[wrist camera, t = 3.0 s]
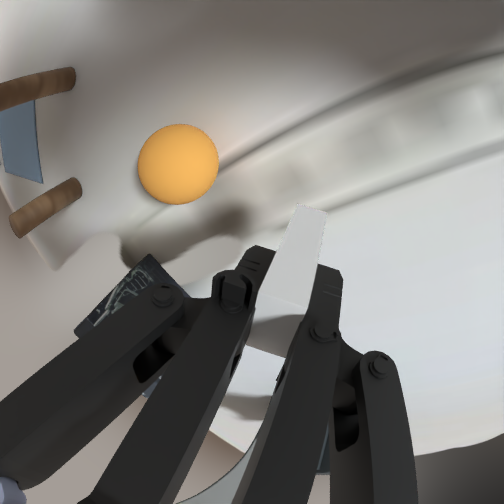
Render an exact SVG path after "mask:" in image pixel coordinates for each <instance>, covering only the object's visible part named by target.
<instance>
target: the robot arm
mask: <svg viewBox="0 0 504 504" xmlns="http://www.w3.org/2000/svg"><path fill="white" fill-rule="evenodd" d="M326 218H327V212H324V211H321V210H317V209H314V208H311V207H308V206H304V205H301V204H297V206H296V209H295V211H294V213H293V216H292V218H291V220H290V222H289V225H288V227H287V229H286V231H285V234H284V236H283V238H282V240H281V243H280V245H279V247H278V249H277V252H276V251H273V250H270V249H267V248H264V247H260V246H257V245H255V246H253V247H251V248H249V249H248V250H246V252H245V254H244V255H243V257H242V259H241V260H240V262H239V263H238V266H237V267H236V268H235V270H224V271H222V272H219V273H217V274H216V275H215V276H214V277H213V280H212V293H211V297H209V298H190V297H184V295H183V292H182V291H181V290H180V289H179V288H178V287H177V286H175V285H172V284H168V283H159V284H154V285H152V286H150V287H148V288H147V289H146V290H144V291H143V292H141V293H140V294H139V295H137V296H136V297H135V298H133V299H132V300H130V301H129V302H128V303H126V304H125V305H124V306H122V307H121V308H120V309H118V310H117V311H115V312H114V313H113V314H111V315H110V316H109V317H107V318H106V319H105V320H103V321H102V322H101V323H99V324H98V325H97V326H95V327H94V328H93V329H91V330H90V331H89V332H87V333H86V334H85V335H83V336H82V337H81V338H79V339H78V340H77V341H76V342H74V343H73V344H72V345H70V346H69V347H68V348H66V349H65V350H64V351H63V352H62V353H60V354H59V355H57V356H56V357H55V358H54V359H52V360H51V361H50V362H49V363H47V364H46V365H45V366H43V367H42V368H41V369H40V370H38V371H37V372H36V373H35V374H33V375H32V376H31V377H30V378H28V379H27V380H26V381H25V382H24V383H22V384H21V385H20V386H19V387H17V388H16V389H15V390H14V391H13V392H11V393H10V394H9V395H8V396H7V397H5V398H4V399H3V400H2V401H1V402H0V504H26V500H27V499H26V496H25V494H24V493H23V491H22V490H25V489H29V488H32V487H34V486H36V485H38V484H40V483H42V482H43V481H45V480H46V479H47V478H49V477H50V476H51V475H52V474H54V473H55V472H56V471H57V470H58V469H60V468H61V467H62V466H63V465H64V464H65V463H66V462H68V461H69V460H70V459H71V458H72V457H73V456H74V455H76V454H77V453H78V452H79V451H80V450H81V449H82V448H83V447H84V446H86V444H88V443H89V442H90V441H91V440H92V439H93V438H94V437H96V436H97V435H98V434H99V433H100V432H101V431H102V430H103V429H104V428H106V427H107V426H108V425H109V424H110V423H111V422H112V421H113V420H114V419H115V418H117V417H118V416H119V415H120V414H121V413H122V412H123V411H124V410H125V409H126V408H127V407H128V406H129V405H131V404H132V403H133V402H134V401H135V400H136V399H137V398H138V397H139V396H140V395H141V394H142V393H143V392H144V391H146V390H147V389H148V388H149V387H150V386H151V385H152V384H153V383H154V382H155V381H156V380H157V379H158V378H159V377H160V376H161V375H162V374H163V373H164V374H163V375H162V377H161V379H160V380H159V382H158V384H157V385H156V387H155V388H154V390H153V392H152V393H151V395H150V397H149V398H148V400H147V402H146V403H145V405H144V407H143V408H142V410H141V412H140V413H139V415H138V416H137V418H136V420H135V421H134V423H133V425H132V426H131V428H130V429H129V431H128V433H127V434H126V436H125V438H124V440H123V441H122V443H121V445H120V446H119V448H118V449H117V451H116V453H115V454H114V456H113V458H112V459H111V461H110V463H109V464H108V466H107V468H106V469H105V471H104V473H103V474H102V476H101V478H100V480H99V481H98V483H97V485H96V486H95V488H94V490H93V491H92V492H91V494H90V495H89V496H88V497H86V498H85V499H83V500H81V501H80V502H78V503H77V504H173V502H174V500H175V498H176V496H177V494H178V492H179V490H180V488H181V485H182V484H183V482H184V480H185V478H186V476H187V474H188V472H189V470H190V467H191V466H192V464H193V461H194V459H195V457H196V455H197V453H198V451H199V449H200V447H201V445H202V443H203V440H204V438H205V436H206V434H207V432H208V430H209V428H210V426H211V423H212V421H213V419H214V417H215V415H216V413H217V410H218V408H219V406H220V404H221V402H222V399H223V397H224V395H225V393H226V391H227V388H228V386H229V384H230V382H231V379H232V377H233V375H234V372H235V370H236V368H237V366H238V363H239V361H240V359H241V356H242V351H243V348H244V346H245V344H246V345H248V346H251V347H254V348H256V349H259V350H262V351H265V352H268V353H271V354H274V355H277V356H281V357H284V358H286V359H285V362H284V365H283V367H282V369H281V371H280V373H279V375H278V377H277V379H276V381H277V383H276V386H275V389H274V392H273V395H272V398H271V401H270V404H269V407H268V410H267V413H266V416H265V418H264V421H263V424H262V427H261V430H260V432H259V435H258V438H257V440H256V443H255V446H254V448H253V451H252V454H251V456H250V459H249V461H248V464H247V466H246V469H245V471H244V474H243V476H242V479H241V481H240V484H239V486H238V488H237V491H236V493H235V496H234V498H233V500H232V502H231V504H307V502H308V499H309V495H310V492H311V489H312V485H313V482H314V478H315V475H316V471H317V467H318V464H319V460H320V456H321V452H322V448H323V443H324V439H325V435H326V430H327V425H328V428H329V454H330V504H418V491H417V480H416V470H415V462H414V454H413V447H412V440H411V434H410V428H409V422H408V417H407V412H406V407H405V402H404V397H403V392H402V388H401V384H400V379H399V375H398V371H397V368H396V365H395V363H394V361H393V360H392V359H391V358H390V357H389V356H388V355H386V354H385V353H383V352H379V351H369V352H367V353H366V354H364V355H363V354H361V353H359V352H358V351H356V350H354V349H353V348H351V347H350V346H349V345H347V344H346V343H345V341H344V340H343V339H342V337H341V333H340V331H339V317H340V308H341V299H342V298H341V297H342V288H343V278H342V276H341V274H340V271H339V270H336V269H333V268H330V267H327V266H324V265H320V264H318V260H319V255H320V250H321V245H322V240H323V234H324V229H325V224H326Z"/></svg>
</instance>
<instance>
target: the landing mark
mask: <svg viewBox="0 0 504 504" xmlns="http://www.w3.org/2000/svg"><path fill="white" fill-rule="evenodd" d="M0 140H1V148H2V155H3V161H4V167H5V172H8V173H11V174H14V175H17V176H20V177H23V178H26V179H29V180H32V181H36V182H39V183H43V181H42V175H41V168H40V162H39V154H38V146H37V136H36V123H35V101H34V100H32V101H29V102H26V103H23V104H20V105H17V106H14V107H11V108H9V109H6V110H3V111H1V112H0Z"/></svg>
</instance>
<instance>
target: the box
mask: <svg viewBox="0 0 504 504" xmlns="http://www.w3.org/2000/svg"><path fill="white" fill-rule="evenodd" d="M159 283H168V284H172V285H175V286H177V287H178V288H179V289H180V290H181V291H182V292H183V295H184V297H190V296H189V295H188V294H187V293H186V292H185V291H184V290H183V289H182V288H181V287H180V286H179V285H178V284H177V283H176V282H175V280H174V279H173V278H172V277H171V276H170V275H169V274H168V273H167V272H166V271H165V270H164V269H163V268H162V266H161V265H160V264H159V263H158V262H157V261H156V260H155V259H154V258H153V257H152V256H151V255H150V254H148V255H147V256H146V257H145V258H144V259H142V260H141V261H140V262H139V263H138V264H137V265H136V266H135V267H134V268H133V269H132V270H130V271H129V273H128V274H127V275H126V276H125V277H124V278H123V279H122V281H120V283H119V284H117V286H116V287H115V288H114V289H113V290H112V291H111V292H110V293H109V294H108V295H107V296H106V297H105V298H104V299H103V300H102V301H101V302H100V303H99V304H98V305H97V307H96V308H95V309H94V310H93V311H92V312H91V313H90V314H89V315H88V316H87V317H86V318H85V319H84V320H83V321H82V322H81V323H80V324H79V325H78V326H77V327H76V328H75V329H74V333H75V335H76V336H77V337H78V338H81V337H82V336H83V335H85V334H86V333H87V332H89V331H90V330H91V329H93V328H94V327H95V326H97V325H98V324H99V323H101V322H102V321H103V320H105V319H106V318H107V317H109V316H110V315H111V314H113V313H114V312H115V311H117V310H118V309H120V308H121V307H122V306H124V305H125V304H126V303H128V302H129V301H130V300H132V299H133V298H135V297H136V296H137V295H139V294H140V293H141V292H143V291H144V290H146V289H147V288H148V287H150V286H152V285H154V284H159ZM190 298H191V297H190ZM163 374H164V373H163ZM163 374H162V375H163ZM162 375H161V376H160V377H159V378H158V379H157V380H156V381H155V382H154V383H153V384H152V385H151V386H150V387H149V388H148V389H147V390H146V391H144V392H143V393H142V395H143V396H144V397H146V398H149V397H150V395H151V393H152V392H153V390H154V388H155V387H156V385H157V384H158V382H159V380H160V379H161V377H162Z"/></svg>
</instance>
